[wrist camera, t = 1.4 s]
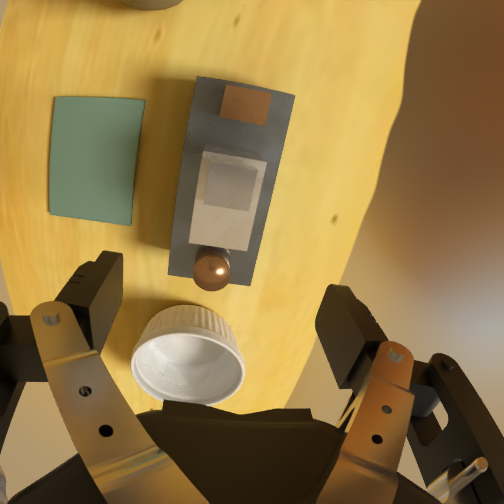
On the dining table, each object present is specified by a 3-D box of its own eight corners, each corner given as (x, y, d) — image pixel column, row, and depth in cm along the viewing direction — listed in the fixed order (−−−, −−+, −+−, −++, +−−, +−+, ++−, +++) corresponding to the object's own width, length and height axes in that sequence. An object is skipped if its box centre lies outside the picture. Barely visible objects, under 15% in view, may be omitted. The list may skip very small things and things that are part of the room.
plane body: (201, 81, 26) (193, 71, 18) (283, 96, 27) (306, 93, 20) (174, 251, 33) (162, 296, 26) (246, 261, 35) (253, 308, 27)
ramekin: (232, 287, 36) (235, 325, 30) (247, 364, 42) (252, 402, 36) (126, 302, 36) (112, 339, 30) (158, 373, 42) (152, 411, 36)
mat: (58, 96, 24) (55, 96, 24) (145, 100, 26) (144, 100, 26) (52, 212, 30) (49, 214, 29) (131, 223, 32) (129, 225, 31)
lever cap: (205, 144, 24) (202, 153, 20) (260, 153, 25) (269, 164, 20) (192, 223, 27) (187, 248, 23) (243, 231, 28) (248, 257, 23)
